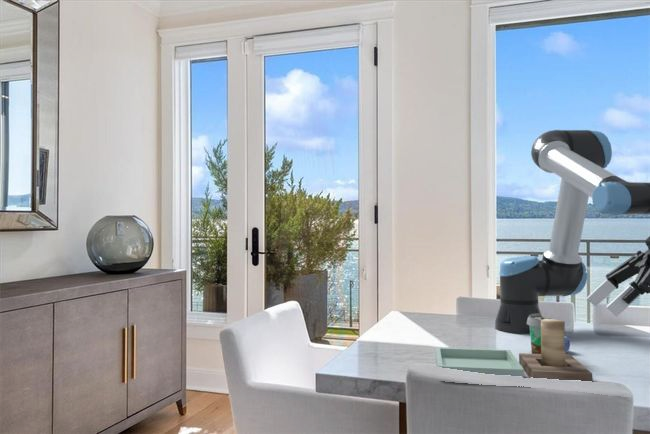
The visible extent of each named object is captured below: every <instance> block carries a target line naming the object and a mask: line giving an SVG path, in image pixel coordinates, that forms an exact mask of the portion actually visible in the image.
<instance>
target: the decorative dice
mask: <svg viewBox="0 0 650 434" xmlns="http://www.w3.org/2000/svg"><path fill="white" fill-rule="evenodd" d="M570 347H571V341H570V339H569V338H568V336H566V335H565V354H566V353H567V352H569V350H570Z"/></svg>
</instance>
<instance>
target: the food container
mask: <svg viewBox="0 0 650 434" xmlns="http://www.w3.org/2000/svg"><path fill="white" fill-rule="evenodd" d="M541 315H542V313H537V314H531V315H529V317H528V319H527V324H528V325H529V327H530V333H529V336H530V347H531V354H541V320H543V319H548V318H546V317H543V316H542V317H541Z"/></svg>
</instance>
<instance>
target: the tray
mask: <svg viewBox="0 0 650 434" xmlns="http://www.w3.org/2000/svg"><path fill="white" fill-rule="evenodd" d="M435 362H436V363H435V364H436V367H437V366H438V367H442V368H450V369H457V370H463V371H470V372H478V373H485V374H495V375H511V376H522V377H524V378H525V371H524V369H523V367H522V366H521V365H520V363H519V360H518V359H517V358H516V356H515V355H514V354H513V352H512V351H511V350H510V349H497V348H496V349H493V348H492V349H491V348H490V349H489V348H466V347H465V348H464V347H463V348H461V347H460V348H459V347H438V346H436V347H435Z"/></svg>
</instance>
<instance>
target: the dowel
mask: <svg viewBox="0 0 650 434" xmlns="http://www.w3.org/2000/svg"><path fill="white" fill-rule="evenodd" d="M565 323H566V322H565V321H564V320H562V319H553V318H547V319H543V320H541V366H560V367H565V355H566V353H565V336H566V333H565V332H566V328H565V327H566V325H565Z"/></svg>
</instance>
